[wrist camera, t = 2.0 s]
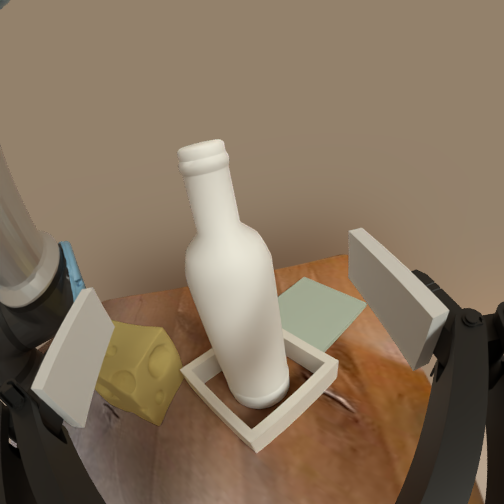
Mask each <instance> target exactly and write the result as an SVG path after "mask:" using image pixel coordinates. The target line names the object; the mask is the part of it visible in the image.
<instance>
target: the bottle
mask: <svg viewBox="0 0 504 504" xmlns="http://www.w3.org/2000/svg"><path fill="white" fill-rule="evenodd" d="M177 155H178V159H179V164H178V168H179V172H180V173H181V175H182V176H183V180H184V184H185V188H186V192H187V196H188V200H189V203H190V207H191V211H192V214H193V218H194V222H195V225H196V229H197V233H196V235H195V236H194V238H193V239H192V241H191V242H190V244H189V246H188V248H187V250H186V255H185V275H186V280H187V283H188V286H189V289H190V292H191V294H192V297H193V300H194V302H195V305H196V308H197V310H198V313H199V315H200V318H201V321H202V323H203V326H204V328H205V331H206V333H207V336H208V338H209V341H210V343H211V345H212V348H213V350H214V353H215V355H216V357H217V360H218V362H219V364H220V367H221V369H222V371H223V373H224V376H225V378H226V380H227V383H228V386H229V389H230V391H231V393H232V394H233V396H234V398H235V399H236V400H237V401H238V402H239V403H240V404H242V405H244V406H246V407H248V408H254V409H263V408H268V407H271V406H273V405H275V404H277V403H278V402H280V401H281V400H282V399H283V398H284V396H285V395H286V394H287V391H288V389H289V369H288V365H287V360H286V353H285V346H284V338H283V331H282V324H281V317H280V310H279V303H278V297H277V290H276V283H275V276H274V270H273V263H272V257H271V253H270V251H269V249H268V248H267V246H266V244H265V242H264V241H263V239H262V238H261V236H260V235H259V233H258V232H257V231H256V230H254V229H253V228H251V227H249V226H247V225H246V224H244V223H242V222H240V219H239V214H238V209H237V204H236V199H235V195H234V189H233V185H232V180H231V175H230V170H229V165H228V164H229V155H228V153H227V152H226V150H225V145H224V142H223V141H222V140H220V139H216V140H210V141H205V142H200V143H196V144H192V145H189V146H185V147H183V148H180V149H179V150H178V152H177Z"/></svg>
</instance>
